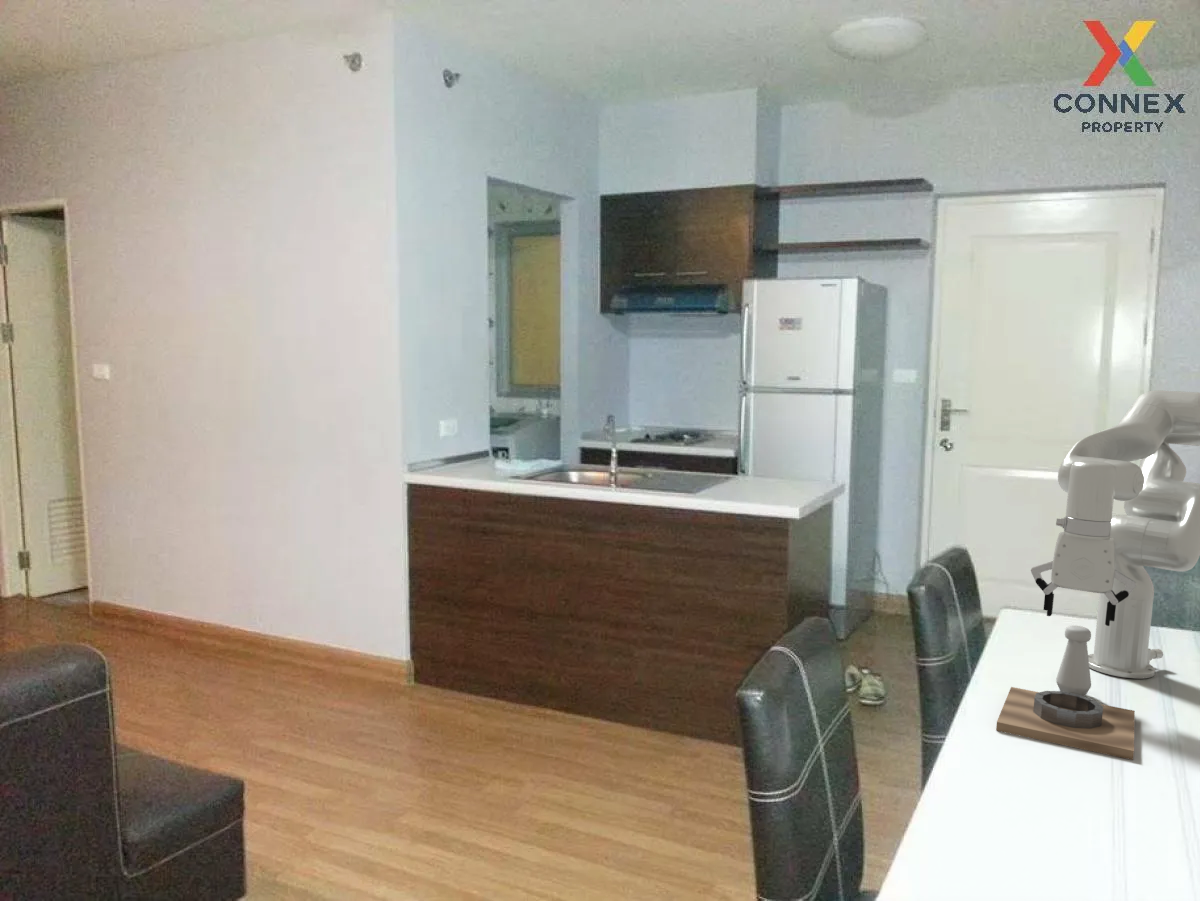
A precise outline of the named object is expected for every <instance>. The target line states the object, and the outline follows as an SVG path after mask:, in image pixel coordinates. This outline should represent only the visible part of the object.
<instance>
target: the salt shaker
mask: <svg viewBox="0 0 1200 901" xmlns="http://www.w3.org/2000/svg"><path fill="white" fill-rule="evenodd" d="M1064 637H1065V638H1066V639H1067V643H1066V645H1065V646H1066V647H1065V649H1064V654H1063V657H1062V660H1061V663H1060V667H1059V669H1058V672H1057V676H1056V680H1055V681H1056V682H1055V683H1056V685H1057V687H1058V690H1059V691H1063V692H1068V693H1073V694H1078V695H1082V696H1084V697H1086V696H1087V694H1088V692H1089V691H1090V690H1091V687H1092V681H1091V679H1092V678H1091V671H1090V669H1091V668H1090V667H1089V659H1088V655H1089V652H1088V651H1089V650H1088V643H1089V642H1090V640H1091V639H1092V631H1091V630H1090V629H1089V628H1087V627H1085V626H1081V625H1077V624H1075V625H1074V624H1073V625H1072V624H1071V625H1068V626H1067V627H1066V628H1065V631H1064Z"/></svg>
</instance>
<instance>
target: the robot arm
mask: <svg viewBox="0 0 1200 901" xmlns="http://www.w3.org/2000/svg"><path fill="white" fill-rule="evenodd" d="M1170 444H1172V445H1182V446H1195V447H1200V392H1198V391H1179V390H1150V391H1146V392H1143V393H1142V394H1140V395H1139V396H1138V397H1137V398H1136V399H1135V400H1134V401H1133V403H1132V404H1131V405H1130V407H1129V409H1128V410H1127V411H1126V413H1125V414H1124V415H1123V417H1122V418H1121V420H1119V422H1118V423H1117V425H1114V426H1111V427H1108V428H1105V429H1103V430H1100V431H1097V432H1095V433H1092V434H1089V435H1087V436H1085V437H1083V438H1081V439H1080V440H1078V441H1077V442H1075V444H1073V446H1072V447H1071V449H1070V450H1069V451H1068V452H1067V454H1065V457H1064V458H1063V459H1062V461H1061V463H1060V466H1059V468H1058V472H1057V482H1058V485H1059V487H1060V488H1061V490H1063V491H1064V492H1065V493H1067V500H1066V509H1065V516H1064V517H1063V518H1062V517H1061V518H1056V520H1055V521H1056V522H1055V526H1056V527H1058V526H1059V527H1061V528H1062V529H1063V531H1060V532H1059V534H1058V536H1057V539H1056V543H1055V547H1054V553H1053V559H1052V561H1050V562H1046V563H1043V564H1038V565H1035V566H1033V567H1031V569H1030V572H1031V575H1032V577H1033V579H1034V582H1035V583H1036V585H1037V586H1038V587H1039V588H1040V590H1042V593H1043V594H1044V599H1043V600H1044V601H1043V611H1046V616H1047V617H1051V616H1052V615H1053V608H1054V598H1055V593H1054V591H1055V590H1056V589H1057V588H1062V589H1068V590H1074V591H1081V592H1086V593H1087V592H1089V593H1094V594H1098V595H1099V596H1098V605H1097V606H1098V607H1097V615H1096V616H1097V617H1096V626H1095V627H1096V628H1095V637H1094V639H1095V640H1094V645H1093V646H1094V647H1093V653H1091V654H1088V659H1089V668H1090V669H1092V670H1094V671H1097V672H1099V673H1102V674H1106V675H1109V676H1113V677H1119V678H1124V679H1125V678H1126V679H1140V680H1143V679H1149V678H1152V677H1154V676H1155V675H1156V674H1155V673H1156V668H1155V667H1154V666H1153V665H1151V663H1150V661H1152V660H1156V659H1161V658H1163V656H1164V651H1163V650H1162V649H1160V648H1155V649H1154V648H1153V649H1151V648H1149V645H1150V634H1151V625H1152V615H1153V605H1154V604H1153V603H1154V593H1155V588H1154V587H1155V586H1154V583H1153V581H1152V579H1151V576H1150V575H1149V573H1148V572H1147V570H1146V569H1145V567H1149V568H1156V569H1160V570H1167V571H1174V572H1181V573H1182V572H1188V571H1190V570H1192V569H1193V568H1194V567H1195V566H1196V564H1197V562H1198V560H1199V558H1200V483H1198V482H1192V481H1185V478H1186V475H1187V467H1186V465H1185V463H1184V461H1183V460H1182V459H1181V457H1180V456H1179V454H1177V452H1176V451H1175V450H1173V448H1171V446H1170ZM1136 461H1140V462H1139V465H1137V464H1136V463H1135V462H1136ZM1114 501H1118V502H1119V501H1120V502H1123V509H1124V511H1125V512H1124V513H1125V514H1121V515H1120V514H1118V515H1113V511H1114V510H1113V509H1114ZM1050 570H1051V573H1050V579H1051V580H1050V582H1049V583H1047V582H1046V581H1045V580H1044V578H1043V577H1042V574H1041V573H1044V572H1046V571H1050Z"/></svg>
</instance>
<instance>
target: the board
mask: <svg viewBox="0 0 1200 901" xmlns="http://www.w3.org/2000/svg"><path fill="white" fill-rule="evenodd" d="M1039 692H1040V691H1034V690H1030V689H1026V688H1025V689H1024V688H1020V687H1014V686H1011V687H1010V689H1009V691H1008V694H1007V696H1006V699H1005V701H1004V703H1003V705H1002V708H1001V710H1000V712H999V716H998V718H997V720H996V725H995V726H996V727H995V731H996V730H997V731H998V732H1001V731H1002V733H1005V732H1006V733H1005V734H1010V733H1011V734H1010V735H1016V736H1019V735H1020V736H1019V737H1023V738H1024V737H1025V738H1028V737H1029V739H1034V740H1037V741H1043V742H1048V743H1053V744H1056V745H1057V744H1058V745H1061V746H1066V747H1070V748H1075V749H1081V750H1085V751H1089V752H1094V753H1099V754H1103V755H1108V756H1113V757H1117V758H1120V759H1126V760H1131V761H1133V760H1134V755H1135V752H1134V751H1135V718H1136V717H1135V715H1136V714H1135V713H1136V712H1135V710H1133V709H1128V708H1123V707H1117V706H1111V705H1107V704H1102V703H1100V704H1101V705H1102V706H1103V715H1102V724H1101V726H1099V727H1096V728H1092V729H1085V728H1071V727H1067V726H1062V725H1057V724H1054V723H1051V722H1049V721H1046V720H1044V719H1041V718H1040V717H1039V716H1037V715H1036V714H1035V713H1034V712H1033V709H1034V698H1035V695H1036V693H1039ZM1058 708H1062V707H1058ZM1062 709H1067V708H1062ZM1067 710H1072V709H1067ZM1072 711H1076V710H1072Z"/></svg>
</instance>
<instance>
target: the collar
mask: <svg viewBox="0 0 1200 901" xmlns="http://www.w3.org/2000/svg"><path fill="white" fill-rule="evenodd" d="M1038 692H1039V693H1036V695H1035V698H1034V709H1033V712H1034V713H1035V714H1036V715H1037V716H1039V717H1040V718H1041V719H1044V720H1046V721H1049V722H1051V723H1054V724H1057V725H1062V726H1067V727H1071V728H1085V729H1092V728H1096V727H1099V726H1101V724H1102V715H1103V706H1102V705H1103V704H1102V703H1099V702H1098V701H1096V700H1095V699H1093V698H1090V697H1086V696H1085V697H1084V696H1082V695H1078V694H1073V693H1068V692H1063V691H1060V690H1058V691H1057V690H1044V691H1038ZM1101 704H1102V705H1101ZM1058 707H1062V708H1067V709H1072V710H1076V711H1072V710H1067V709H1062V708H1058Z"/></svg>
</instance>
